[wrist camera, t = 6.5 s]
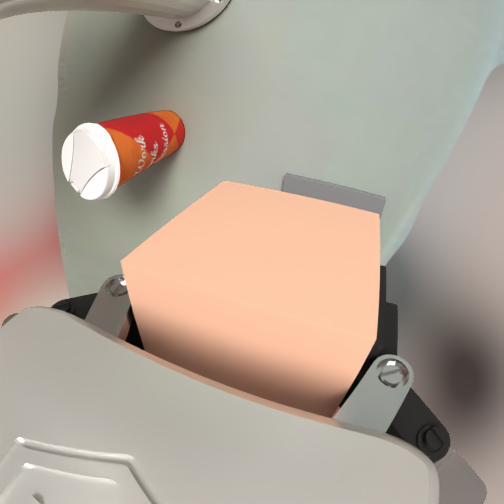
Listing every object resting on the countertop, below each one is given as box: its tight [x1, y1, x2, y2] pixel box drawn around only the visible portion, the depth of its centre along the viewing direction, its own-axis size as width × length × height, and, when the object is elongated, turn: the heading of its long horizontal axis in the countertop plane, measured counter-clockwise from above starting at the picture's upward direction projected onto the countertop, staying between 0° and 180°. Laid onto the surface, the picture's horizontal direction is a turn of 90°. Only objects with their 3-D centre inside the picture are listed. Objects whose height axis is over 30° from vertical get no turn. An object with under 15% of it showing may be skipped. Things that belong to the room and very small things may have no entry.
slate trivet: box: [282, 173, 385, 218], centre depth 34 cm, size 12×11×1 cm
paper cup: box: [62, 110, 185, 200], centre depth 29 cm, size 8×8×14 cm
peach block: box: [121, 181, 380, 418], centre depth 10 cm, size 6×6×6 cm
